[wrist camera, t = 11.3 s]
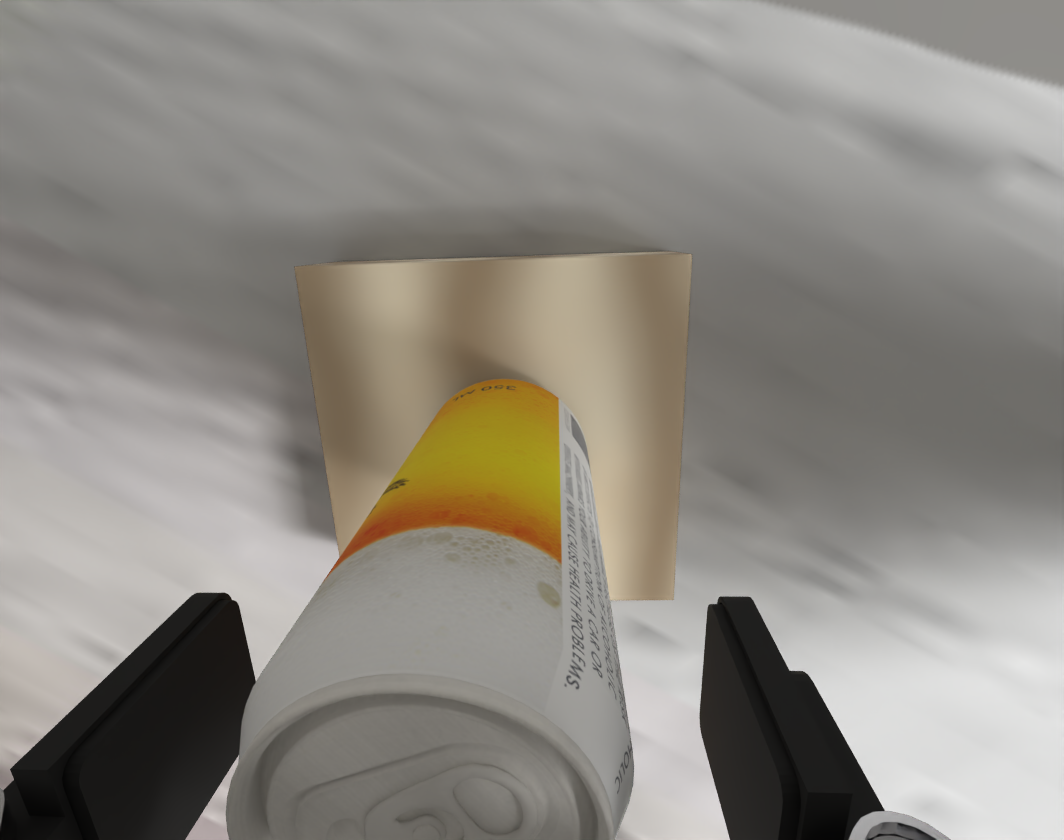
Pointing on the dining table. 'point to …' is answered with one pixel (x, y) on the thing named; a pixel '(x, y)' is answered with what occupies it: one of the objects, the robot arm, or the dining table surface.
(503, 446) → the beer can
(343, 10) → the dining table surface
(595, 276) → the birch plinth
